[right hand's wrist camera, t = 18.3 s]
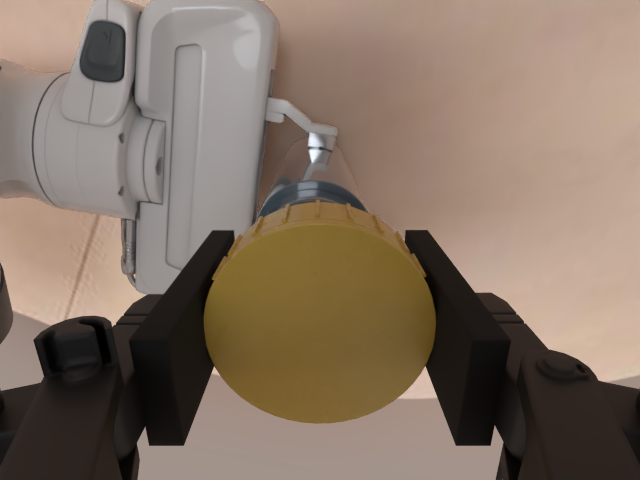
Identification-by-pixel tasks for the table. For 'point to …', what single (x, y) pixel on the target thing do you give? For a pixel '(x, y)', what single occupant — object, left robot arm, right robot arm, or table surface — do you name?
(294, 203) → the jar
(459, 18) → the table surface
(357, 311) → the lid
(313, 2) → the table surface
